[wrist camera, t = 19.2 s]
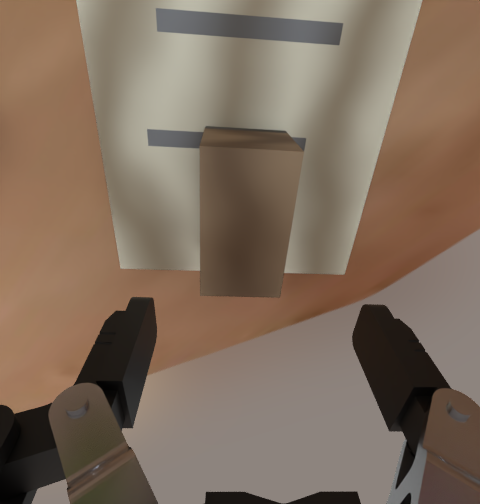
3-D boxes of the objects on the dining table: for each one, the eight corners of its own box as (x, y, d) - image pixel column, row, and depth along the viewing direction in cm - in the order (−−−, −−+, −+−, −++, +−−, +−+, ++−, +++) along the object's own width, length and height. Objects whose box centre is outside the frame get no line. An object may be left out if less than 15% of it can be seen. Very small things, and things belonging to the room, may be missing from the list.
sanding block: (285, 130, 20) (304, 151, 15) (269, 252, 24) (280, 297, 20) (205, 126, 19) (199, 146, 15) (204, 250, 24) (200, 295, 19)
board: (472, -236, 14) (498, -268, 12) (338, 264, 27) (344, 274, 26) (41, -297, 12) (19, -339, 11) (125, 258, 26) (120, 268, 24)
